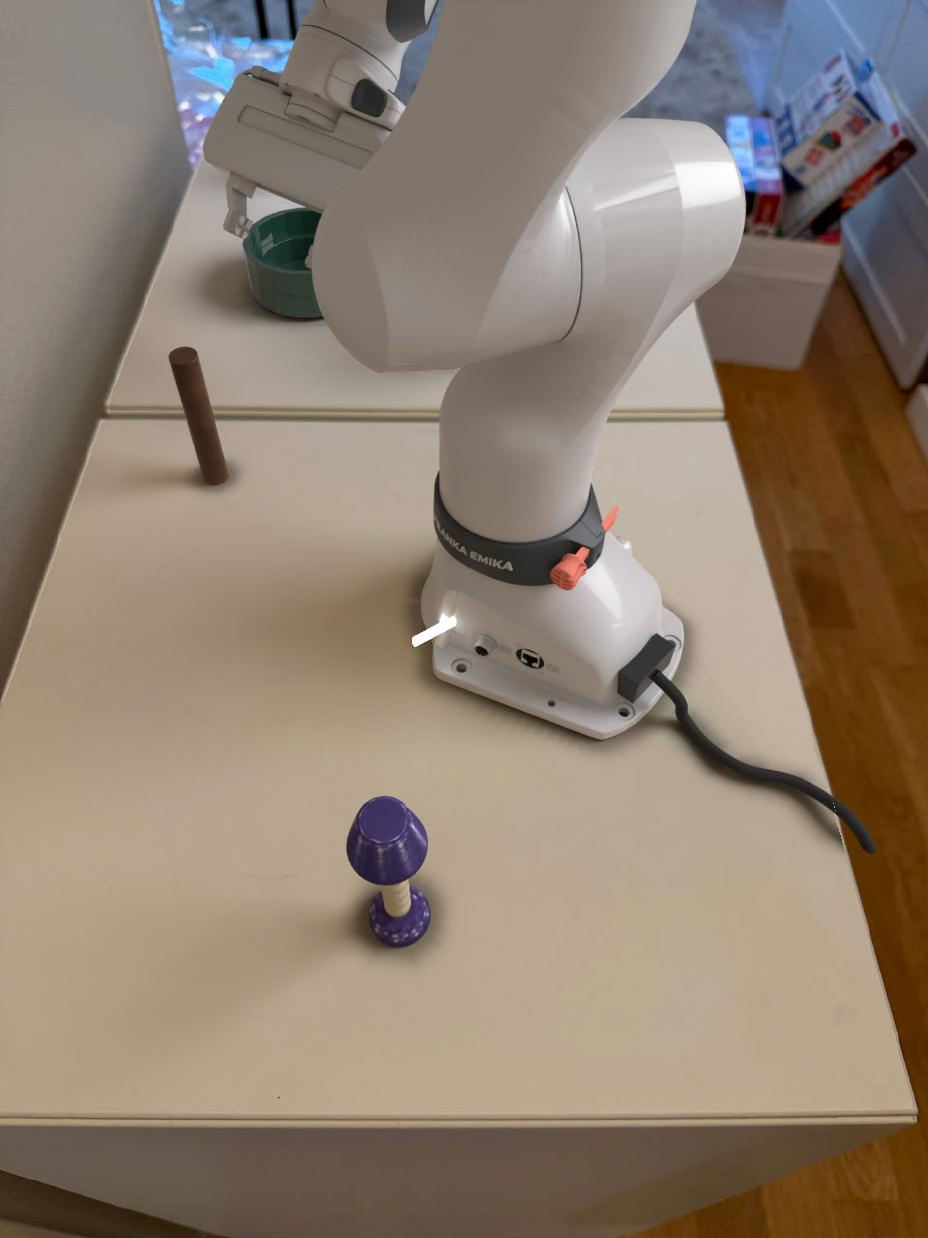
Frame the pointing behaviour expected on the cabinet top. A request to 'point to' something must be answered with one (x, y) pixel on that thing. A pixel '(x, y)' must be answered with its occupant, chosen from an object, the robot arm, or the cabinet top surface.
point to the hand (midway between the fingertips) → (273, 252)
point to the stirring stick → (199, 414)
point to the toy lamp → (391, 868)
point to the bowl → (283, 262)
